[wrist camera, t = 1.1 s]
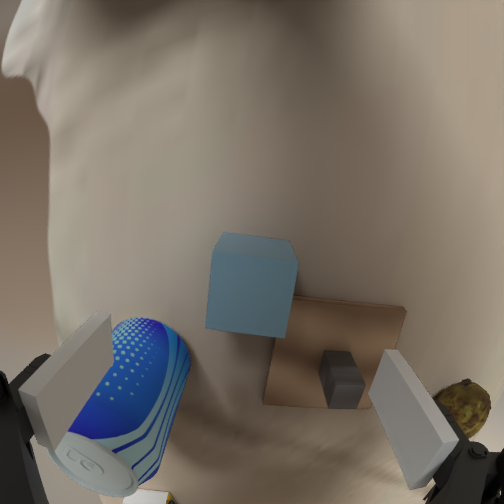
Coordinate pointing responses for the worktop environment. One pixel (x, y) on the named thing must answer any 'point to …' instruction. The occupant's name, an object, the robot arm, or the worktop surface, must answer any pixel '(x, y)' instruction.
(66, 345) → the robot arm
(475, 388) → the brown oval lump
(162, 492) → the medicine bottle
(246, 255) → the light blue chamfered box
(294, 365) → the tan square panel
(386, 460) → the worktop surface
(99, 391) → the beer can
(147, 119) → the worktop surface
